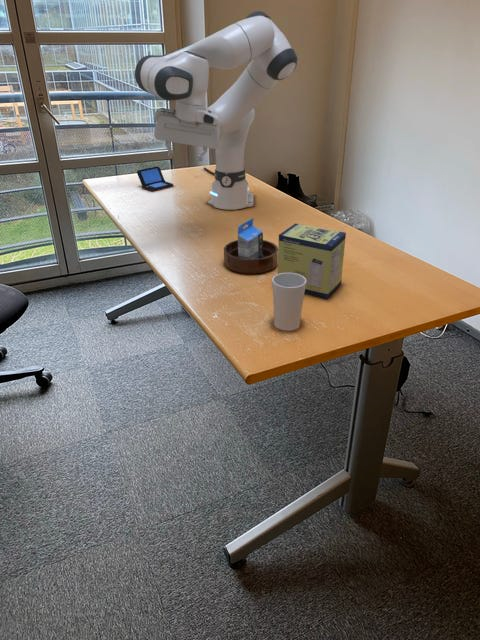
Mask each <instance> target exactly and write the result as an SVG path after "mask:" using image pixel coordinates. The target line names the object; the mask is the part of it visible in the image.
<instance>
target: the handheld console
mask: <svg viewBox="0 0 480 640" xmlns="http://www.w3.org/2000/svg"><path fill="white" fill-rule="evenodd" d="M136 174H137V176H138V180H139V182H140V184H141V188H142V189H143V190H146V191H150V192H155V191H160V190H164V189H169V188H172V187H174V183H171V182H169V181H166V180H165V177H164V175H163V172H162V169H161V167H159V166H158V165H157V166H152V167H148V168H143V169H138V170H136Z"/></svg>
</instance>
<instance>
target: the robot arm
mask: <svg viewBox="0 0 480 640" xmlns="http://www.w3.org/2000/svg"><path fill="white" fill-rule="evenodd" d="M246 64H248V65H247V66H246V68H245V69H244V70H243V71H242V73H241V74H240V75H239V77H238V78H237V80H236V81H234V83H233V84H232V85H231V86H230V87H229V88H228V89H227V90H226V91H225V92H224V93H223V94H222V95H220V97H218V99H216V100H215V102H213V103H212V104H211V105H209V106H208V107H207V108H206V105H207V101H206V94H207V92H208V87H209V79H210V68H213V69H219V70H227V71H229V70H234V69H237V68H240V67H243V66H244V65H246ZM297 65H298V56H297V53H296V51H295V49H294V48H292V46H291V44H290V42H289V40H288V39H287V36H285V34H284V32H282V31H281V30H280V28H279V27H278V26H277V25H276V24H275V22H274V21H272V19H271V17H270V16H269V15H268V14H267V13H266V12H265V11H262V10H256V11H252V12H251V13H249V14H247V16H246V17H245V18H244V19H241V20H238V21H237V22H234V23H232V24H230V25H228V26H226V27H224V28H222V29H220V30H218V31H217V32H214V33H212V34H211V35H209V36H207V37H204V38H202V39H200V40H198V41H196V42H193V43H190V44H187V45H185V46H182V47H181V48H178V49H175V50H173V51H171V52H168V53H165V54H162V55H161V54H160V55H155V54H147V55H144V56H142V57H141V58H140V59H139V60H138V61H137V63H136V65H135V69H134V79H135V82H136V84H137V86H138V88H139V89H141V90H142V91H143V92H145V93H148V94H151V95H153V96H155V97H157V98H159V99H161V100H162V101H169V102H171V101H172V102H173V101H175V109H171V108H166V107H160V108H157V109H156V110H155V112H154V121H155V127H154V133H153V136H154V138H155V140H157V141H164V145H165V148H166V149H167V156H168V157H174V149H171V146H170V145H171V143H175V144H182V145H188V146H194V147H200V148H202V152H201V153H198V155H197V162H203V159H204V158H203V157H204V156H205V154H206V153H208V149H212V150H215V169H214V172H213V171H211V170H209V169H208V168H206V167H203V170H205V171H206V172H208V173H210V174H211V175H214V179H215V180H214V181H213V182H212V183H211V191H209V194H210V195H211V198H210V199H208V200H207V203H208V205H211V206H213V207H214V208H216V209H219V210H228V211H229V210H230V211H232V210H233V211H234V210H241V209H245V208H252V207H254V201H255V199H254V198H255V197H254V196H255V195H254V193H252V192H249V182H248V180H247V179H246V174H247V173H246V166H245V148H246V143H247V137H248V134H249V130H250V127H251V125H252V124H253V122H254V119H255V116H256V113H255V108H256V107H258V106H259V105H260V104H261V103H262V101H264V99H265V97H266V96H267V95H268V94H269V93H270V91H271V90H272V89H273V88H274V86H276V84H277V82H278V81H283V80H285V79H287V78H288V77H289V76H290V75H291V74H293V72H294V71H295V70H296V67H297Z"/></svg>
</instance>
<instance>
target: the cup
mask: <svg viewBox="0 0 480 640" xmlns="http://www.w3.org/2000/svg"><path fill="white" fill-rule="evenodd" d="M271 282H272V284H271V285H272V297H273V298H272V300H273V301H272V302H273V303H272V304H273V322H274V323H273V325H274V327H276V328H277V329H279V330H280V331H295V330H297V329H299V327H300V326H301V317H302V309H303V304H304V298H305V297H304V296H305V293H304V292H305V286H306V278H305V277H303V276H302V275H299V274H296V273H281V274H278V273H277V274H276V275H273V277H272V279H271Z"/></svg>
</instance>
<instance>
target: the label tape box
mask: <svg viewBox="0 0 480 640" xmlns="http://www.w3.org/2000/svg"><path fill="white" fill-rule="evenodd" d="M237 240H238V257H239V258H244V259H259V258H262V257H263V240H264V232H263V231H262V230H260V229H259V228H258V227H256V226H254V217H252V218H250V219H248V220H246V221H245V222H243V223H241V224H240V225H238V226H237Z"/></svg>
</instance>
